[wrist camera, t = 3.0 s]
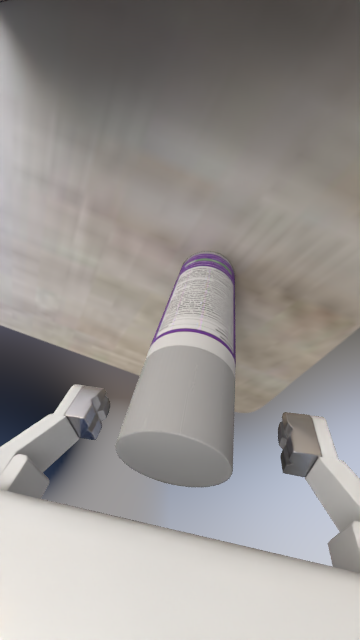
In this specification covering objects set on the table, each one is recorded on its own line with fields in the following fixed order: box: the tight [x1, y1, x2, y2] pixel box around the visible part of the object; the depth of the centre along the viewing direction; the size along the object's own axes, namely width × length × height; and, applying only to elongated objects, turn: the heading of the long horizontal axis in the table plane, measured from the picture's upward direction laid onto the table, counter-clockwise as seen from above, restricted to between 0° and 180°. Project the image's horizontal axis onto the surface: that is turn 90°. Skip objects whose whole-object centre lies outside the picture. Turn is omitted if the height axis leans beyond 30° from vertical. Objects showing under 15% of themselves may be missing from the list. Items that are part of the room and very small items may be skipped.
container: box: [115, 251, 236, 487], centre depth 15 cm, size 5×5×15 cm
